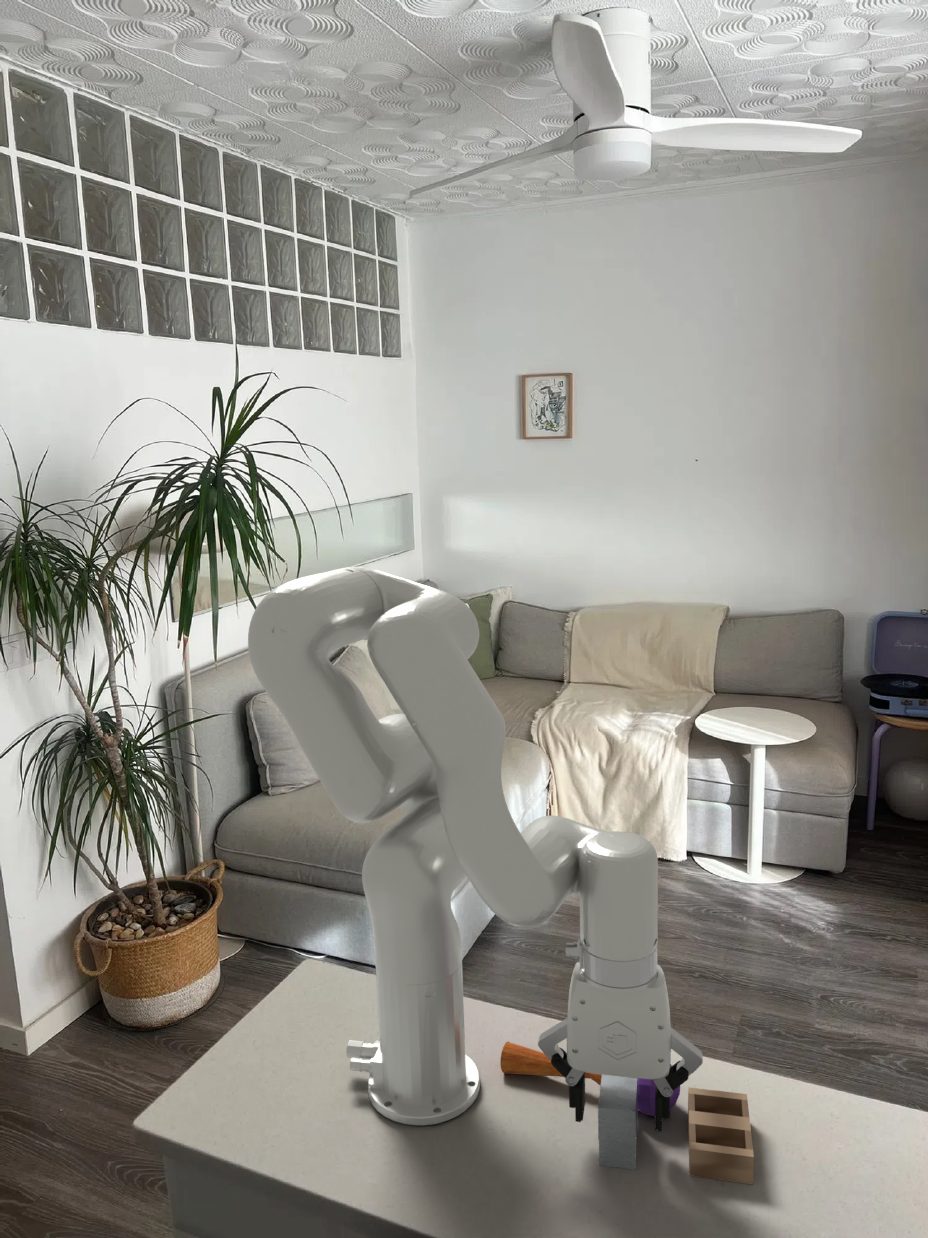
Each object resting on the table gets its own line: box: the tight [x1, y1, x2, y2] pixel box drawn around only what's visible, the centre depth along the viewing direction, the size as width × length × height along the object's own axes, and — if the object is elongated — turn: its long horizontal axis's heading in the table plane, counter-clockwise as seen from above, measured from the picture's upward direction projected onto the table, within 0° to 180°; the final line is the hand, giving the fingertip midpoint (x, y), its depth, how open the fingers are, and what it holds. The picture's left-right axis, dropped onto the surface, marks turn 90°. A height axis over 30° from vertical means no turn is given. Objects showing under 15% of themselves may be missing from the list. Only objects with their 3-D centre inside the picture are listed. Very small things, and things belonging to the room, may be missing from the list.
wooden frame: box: [687, 1086, 755, 1185], centre depth 95 cm, size 6×9×3 cm, turn 168°
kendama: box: [499, 1041, 681, 1117], centre depth 104 cm, size 6×6×20 cm
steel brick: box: [597, 1075, 639, 1171], centre depth 95 cm, size 4×7×7 cm, turn 168°
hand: (619, 1116), depth 95 cm, fingers open, 7 cm apart
